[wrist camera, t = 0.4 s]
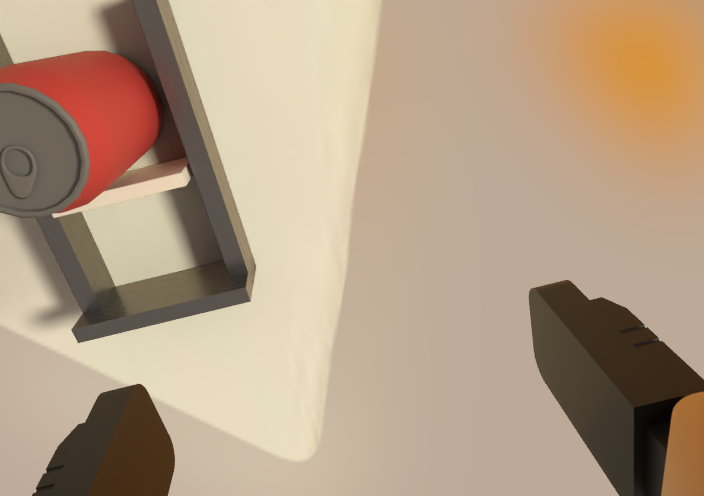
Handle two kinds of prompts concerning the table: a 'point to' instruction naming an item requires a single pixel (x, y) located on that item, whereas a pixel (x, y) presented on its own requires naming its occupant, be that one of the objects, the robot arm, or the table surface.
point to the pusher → (141, 184)
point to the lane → (238, 266)
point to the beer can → (71, 129)
